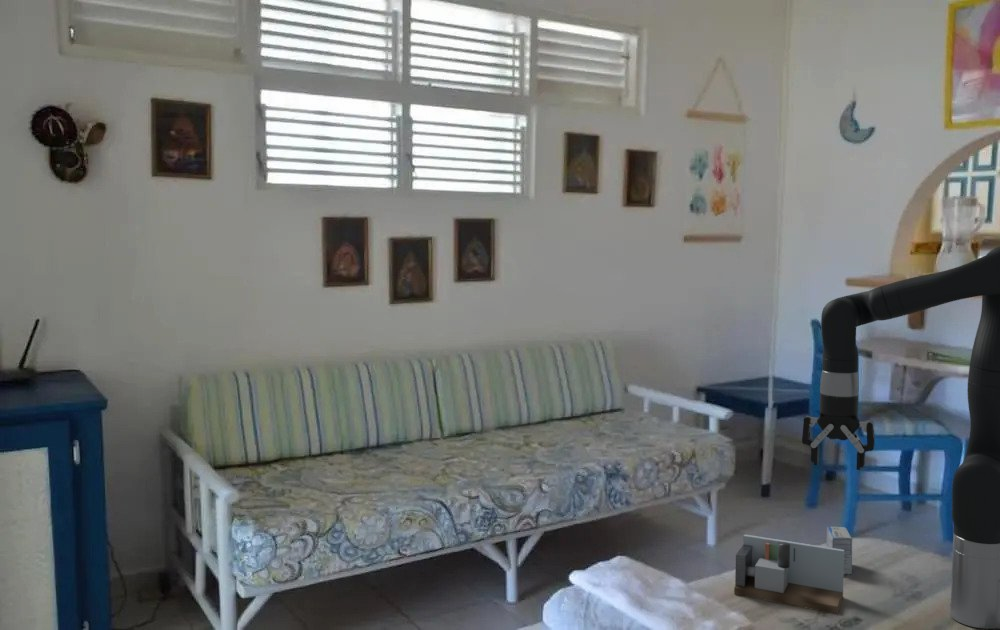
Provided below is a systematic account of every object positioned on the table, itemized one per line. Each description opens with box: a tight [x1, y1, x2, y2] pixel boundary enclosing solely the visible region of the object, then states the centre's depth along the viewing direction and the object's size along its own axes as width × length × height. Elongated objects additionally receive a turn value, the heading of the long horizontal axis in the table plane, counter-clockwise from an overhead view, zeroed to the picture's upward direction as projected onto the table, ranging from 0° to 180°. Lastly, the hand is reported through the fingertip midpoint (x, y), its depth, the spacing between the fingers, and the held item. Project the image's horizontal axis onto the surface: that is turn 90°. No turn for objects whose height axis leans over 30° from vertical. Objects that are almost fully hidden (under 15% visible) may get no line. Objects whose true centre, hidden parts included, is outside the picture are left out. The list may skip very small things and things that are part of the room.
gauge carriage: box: [747, 542, 790, 593], centre depth 187 cm, size 9×6×10 cm, turn 62°
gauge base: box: [733, 577, 844, 614], centre depth 186 cm, size 21×9×2 cm, turn 61°
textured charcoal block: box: [734, 545, 752, 588], centre depth 190 cm, size 2×7×7 cm, turn 152°
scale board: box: [742, 534, 845, 593], centre depth 189 cm, size 21×1×9 cm, turn 61°
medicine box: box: [826, 526, 853, 575], centre depth 201 cm, size 8×4×9 cm, turn 168°
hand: (837, 466), depth 184 cm, fingers open, 8 cm apart
